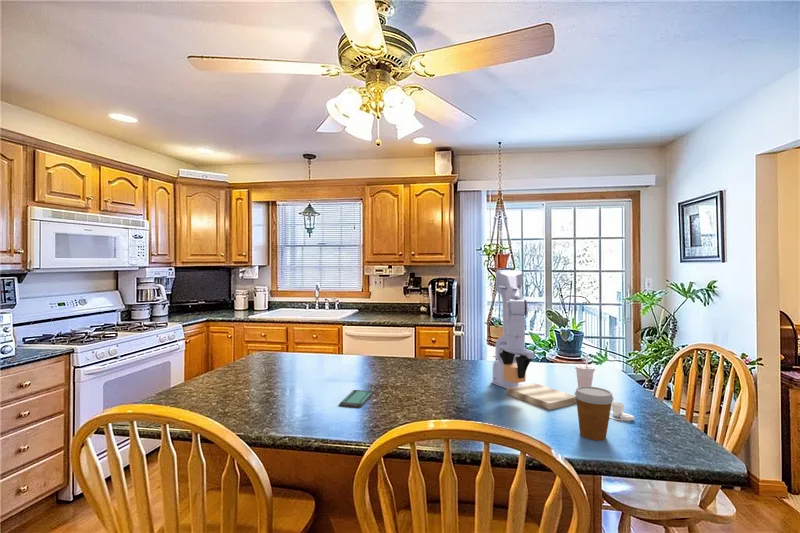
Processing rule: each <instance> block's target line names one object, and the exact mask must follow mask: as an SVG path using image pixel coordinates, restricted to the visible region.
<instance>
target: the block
mask: <svg viewBox="0 0 800 533" xmlns="http://www.w3.org/2000/svg"><path fill="white" fill-rule="evenodd" d="M526 374H527V372H526V373H525V376H524V378H518V367H517V364H516V363H512V364H505V365H504V380H506V381H509V382H512V383H519V384H520V383H524V382H526V378H527V377H526Z"/></svg>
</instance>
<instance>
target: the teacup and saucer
mask: <svg viewBox="0 0 800 533" xmlns="http://www.w3.org/2000/svg"><path fill="white" fill-rule="evenodd" d="M624 408H625V405H624V404H623V403H622V402H618V401H617V402H616V401H613V402H612V404H611V410H610V414H613V416H614V417H613V416H611V415H610V416H609V419H612V420H614V421H624V422H628V421H629V422H630V421H634V420H635V416H634V415H632V414H628V413H626V412H624ZM615 417H617V418H615Z"/></svg>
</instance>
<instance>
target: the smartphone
mask: <svg viewBox="0 0 800 533" xmlns="http://www.w3.org/2000/svg"><path fill="white" fill-rule="evenodd" d="M373 395H374V392H373V391H371V390H362V389H361V390H359V389H352V391H351V392H350V393H349V394H347V395H346V396H345V398H344V399H342V401H341V402H339V407H343V408H344V407H345V408H351V409H353V408H354V409H355V408H356V409H361V408H362V407H363V406H364V405H365V404H366V403H367V402H368V401H369V400H370V399H371V397H372V396H373Z"/></svg>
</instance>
